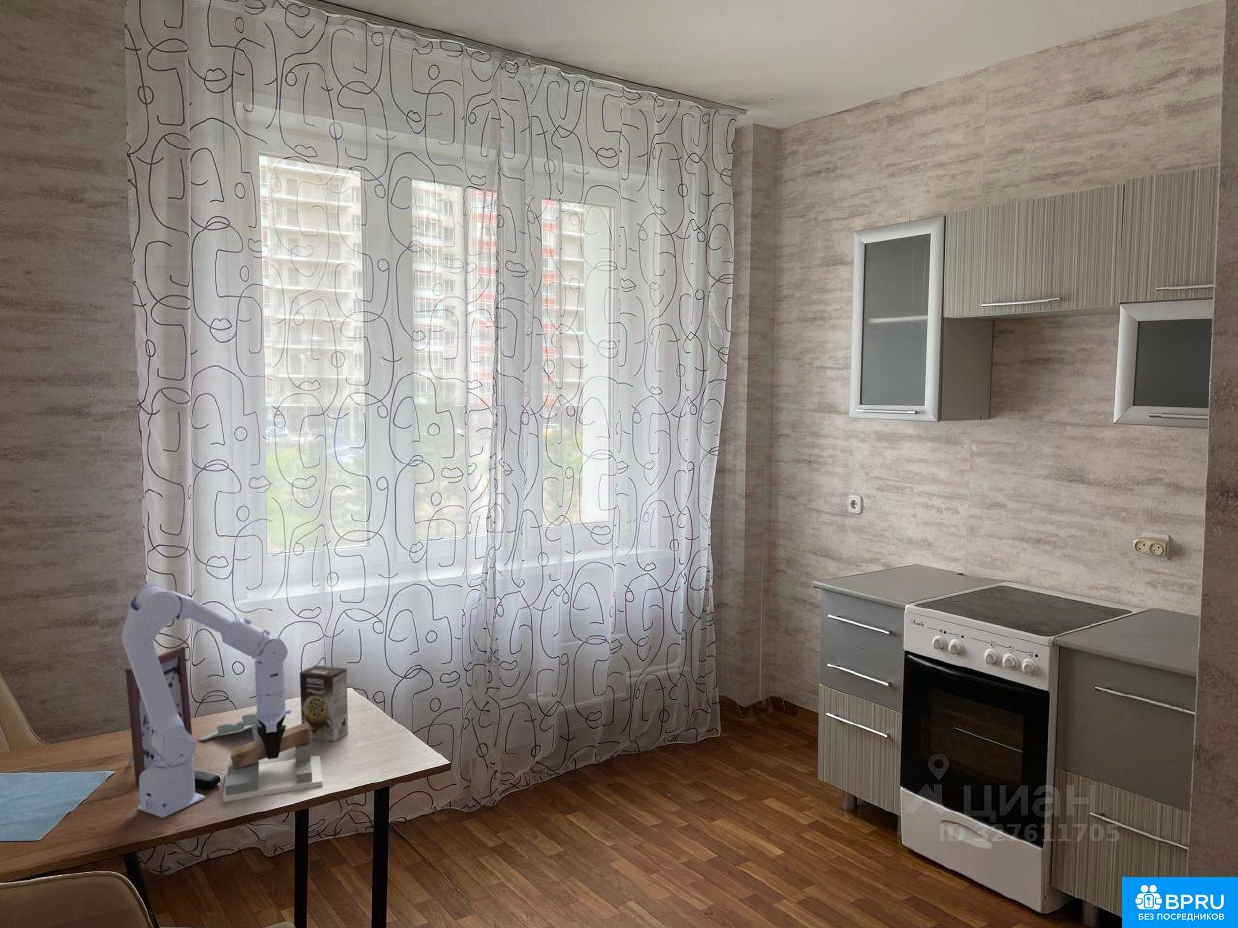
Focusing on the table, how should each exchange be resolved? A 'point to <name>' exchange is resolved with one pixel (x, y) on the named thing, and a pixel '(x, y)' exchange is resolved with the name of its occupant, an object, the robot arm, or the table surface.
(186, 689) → the picture frame
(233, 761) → the walnut bar
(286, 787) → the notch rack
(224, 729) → the metal bracket
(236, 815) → the table surface
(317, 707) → the coffee box
